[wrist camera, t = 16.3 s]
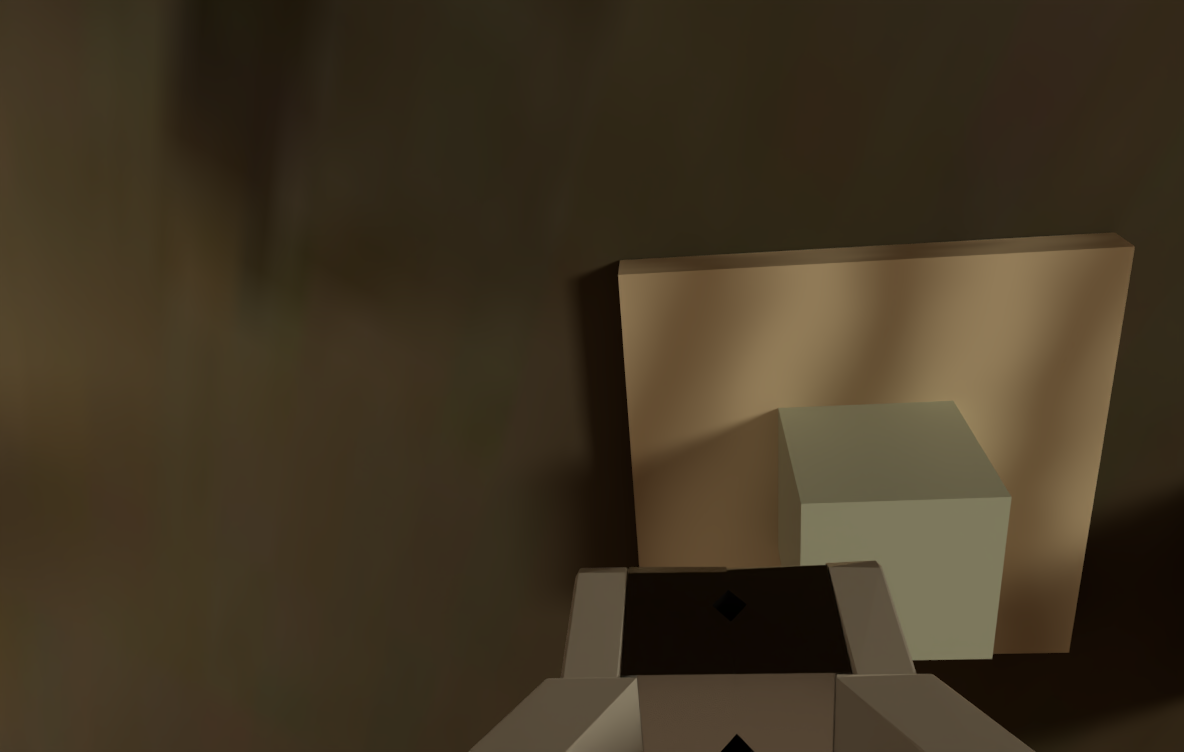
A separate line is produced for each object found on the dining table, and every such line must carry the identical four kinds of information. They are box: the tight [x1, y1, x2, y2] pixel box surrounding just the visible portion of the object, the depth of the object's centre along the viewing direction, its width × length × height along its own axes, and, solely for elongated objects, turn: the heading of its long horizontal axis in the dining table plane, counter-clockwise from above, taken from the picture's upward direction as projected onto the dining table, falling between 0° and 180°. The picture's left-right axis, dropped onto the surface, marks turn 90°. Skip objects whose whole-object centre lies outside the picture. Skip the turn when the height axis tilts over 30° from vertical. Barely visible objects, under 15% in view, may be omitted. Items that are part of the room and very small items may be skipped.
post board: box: [618, 232, 1135, 654], centre depth 33 cm, size 16×16×6 cm
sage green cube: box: [778, 401, 1012, 660], centre depth 31 cm, size 6×6×6 cm
